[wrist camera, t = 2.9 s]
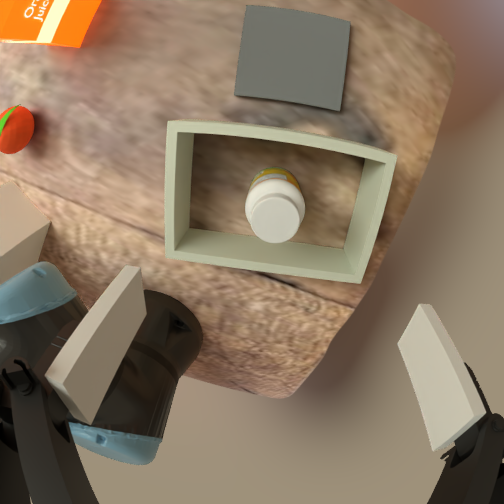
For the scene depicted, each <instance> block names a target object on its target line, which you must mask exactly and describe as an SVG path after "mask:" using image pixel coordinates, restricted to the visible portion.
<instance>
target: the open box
mask: <svg viewBox="0 0 504 504" xmlns="http://www.w3.org/2000/svg"><path fill="white" fill-rule="evenodd" d="M194 133H207V134H220V135H231V136H241V137H250V138H259V139H266V140H274V141H281V142H287V143H294V144H300V145H306V146H311V147H317V148H322V149H327V150H332V151H337V152H342V153H346V154H351V155H355V156H359V157H364V158H365V162H364V167H363V171H362V176H361V180H360V185H359V189H358V194H357V198H356V202H355V206H354V210H353V214H352V218H351V222H350V226H349V230H348V233H347V237H346V241H345V244H344V248H343V249H340V248H333V247H326V246H320V245H313V244H306V243H299V242H292V241H285V242H283V243H276V244H275V243H268V242H265V241H263V240H261V239H260V238H259V237H255V236H248V235H240V234H233V233H225V232H217V231H210V230H202V229H194V228H189V225H190V196H191V175H192V159H193V145H194ZM396 160H397V155H395V154H392V153H390V152H387V151H384V150H382V149H379V148H376V147H373V146H369V145H365V144H361V143H357V142H353V141H349V140H344V139H340V138H335V137H330V136H325V135H320V134H315V133H310V132H304V131H298V130H292V129H286V128H279V127H272V126H264V125H256V124H247V123H237V122H226V121H212V120H194V119H183V120H173V121H168V124H167V140H166V160H165V255H166V258H170V259H177V260H184V261H191V262H198V263H205V264H212V265H219V266H226V267H233V268H240V269H247V270H255V271H262V272H270V273H278V274H285V275H293V276H301V277H309V278H317V279H325V280H333V281H341V282H350V283H358V284H361V281H362V278H363V275H364V273H365V270H366V267H367V264H368V261H369V258H370V255H371V252H372V249H373V246H374V243H375V239H376V236H377V233H378V230H379V226H380V223H381V219H382V216H383V212H384V209H385V205H386V201H387V198H388V194H389V190H390V186H391V182H392V177H393V173H394V169H395V164H396Z"/></svg>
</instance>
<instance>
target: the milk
mask: <svg viewBox="0 0 504 504" xmlns="http://www.w3.org/2000/svg"><path fill="white" fill-rule="evenodd" d="M50 223H51V221H50V220H49V219H48V218H47V217H46V216H45V215H44V214H43V213H42V212H41V211H40V209H39V208H38V207H37V206H36V205H35V204H34V203H33V202H32V201H31V200H30V199H29V198H28V197H27V196H26V194H25V193H24V192H23V191H22V190H21V189H20V188H19V187H18V186H17V184H16V183H15V182H14V181H13V180H10V181H8V182H7V183H5V184H3V185H1V186H0V285H1V284H3V283H4V282H6V281H7V280H9V279H10V278H12V277H13V276H15V275H17V274H18V273H20V272H21V271H23V270H25V269H27V268H28V267H30V266H32V265H34V264H36V263H38V260H39V256H40V253H41V250H42V246H43V243H44V240H45V237H46V234H47V231H48V228H49V225H50Z"/></svg>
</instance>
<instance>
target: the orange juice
mask: <svg viewBox="0 0 504 504" xmlns="http://www.w3.org/2000/svg"><path fill="white" fill-rule="evenodd" d="M101 1H102V0H0V42H13V43H31V44H41V45H55V46H68V47H79V48H80V45H81V43H82V41H83V38H84V36H85V34H86V31H87V29H88V27H89V25H90V23H91V20H92V18H93V16H94V14H95V12H96V10H97V8H98V6H99V4H100V3H101Z"/></svg>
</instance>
